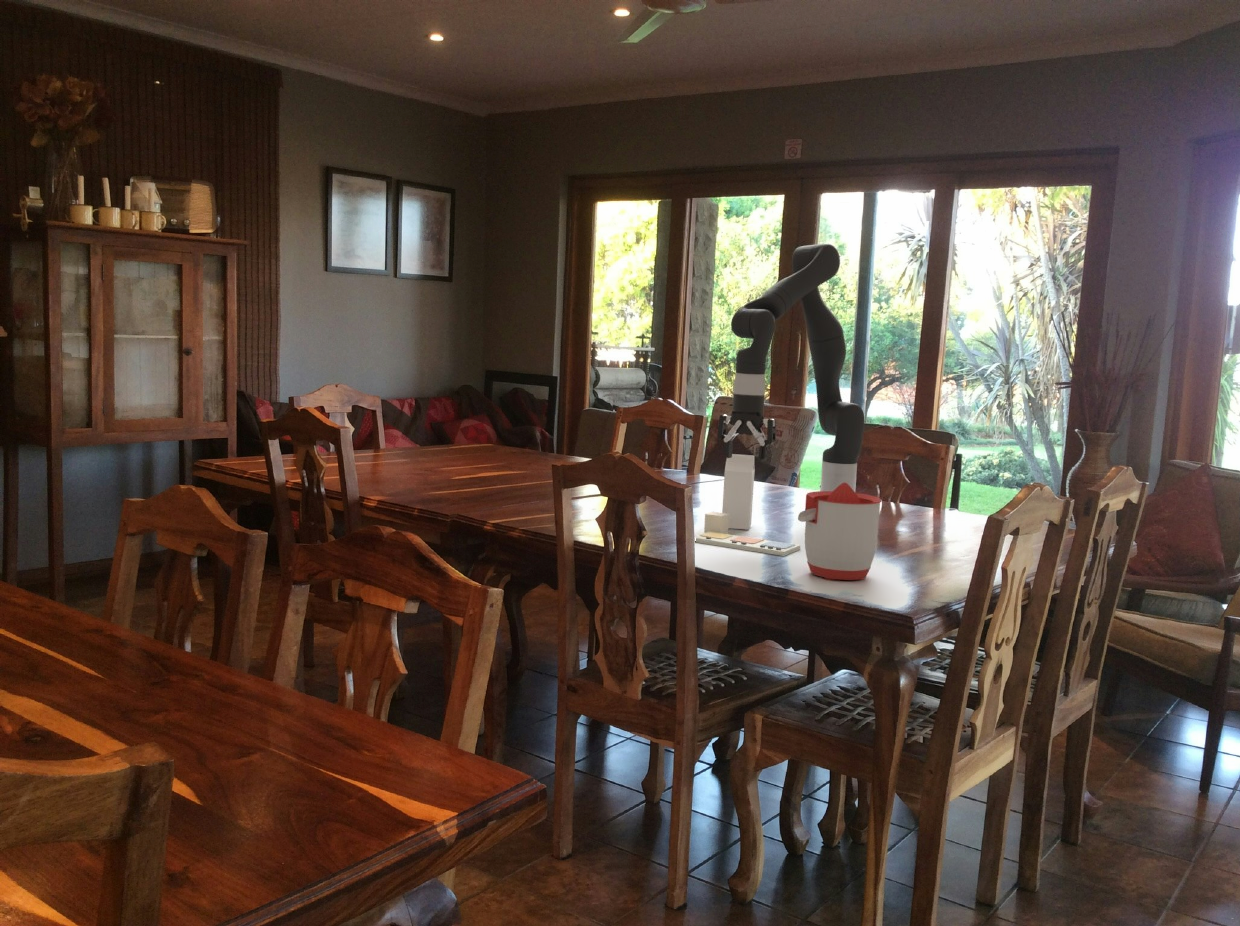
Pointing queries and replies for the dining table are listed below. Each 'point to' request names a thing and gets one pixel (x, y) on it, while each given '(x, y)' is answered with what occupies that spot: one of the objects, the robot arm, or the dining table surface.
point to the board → (747, 543)
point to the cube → (716, 522)
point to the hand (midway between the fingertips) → (744, 459)
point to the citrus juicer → (840, 532)
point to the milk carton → (739, 490)
